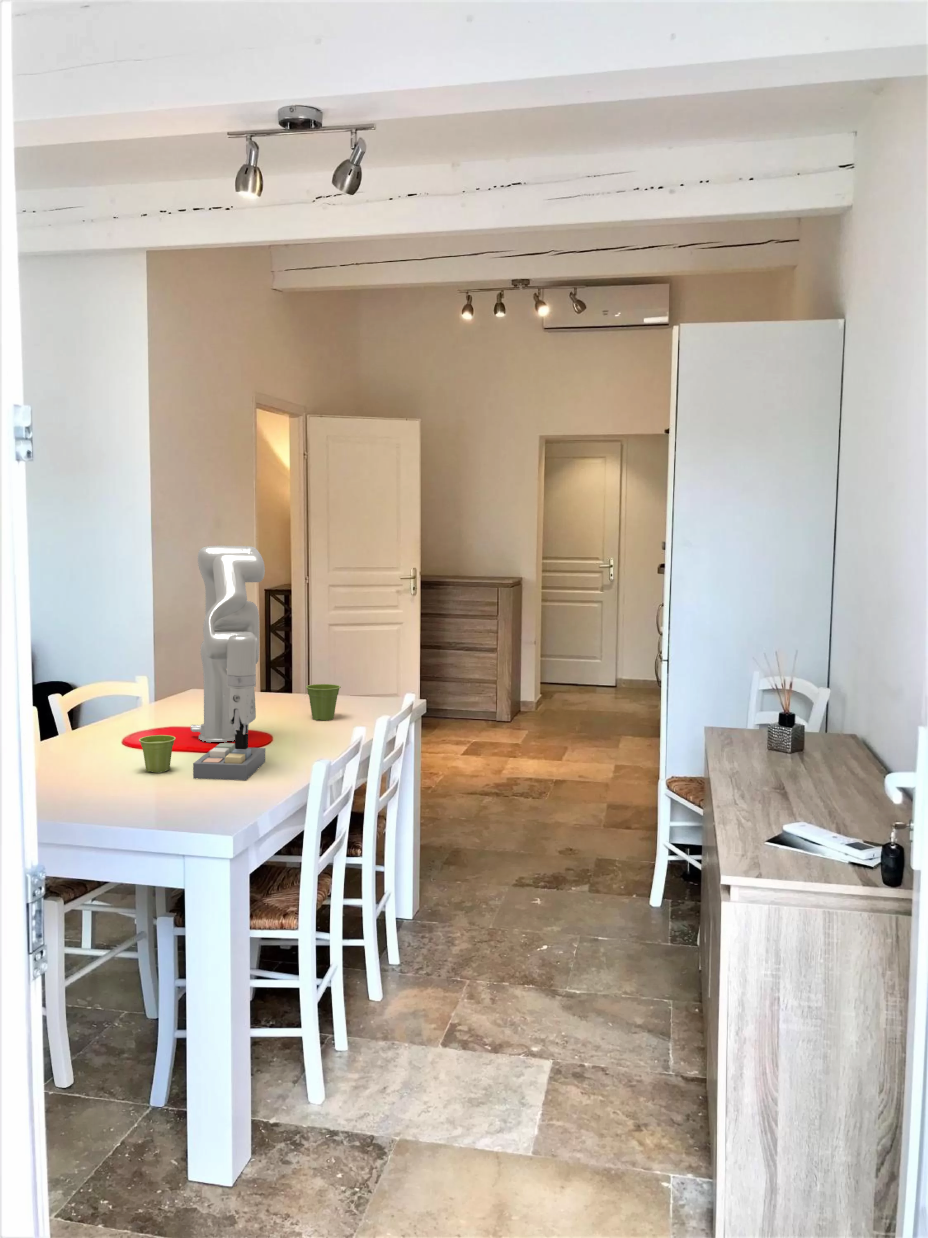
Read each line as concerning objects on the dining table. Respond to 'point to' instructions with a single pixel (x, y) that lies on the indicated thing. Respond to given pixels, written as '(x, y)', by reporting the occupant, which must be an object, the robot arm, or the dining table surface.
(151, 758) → the plant pot
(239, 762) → the key ochre
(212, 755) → the key cream
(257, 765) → the keypad
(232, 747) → the key sage
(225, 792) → the dining table surface
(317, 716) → the plant pot
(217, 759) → the key terracotta
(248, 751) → the key slate
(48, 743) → the dining table surface
